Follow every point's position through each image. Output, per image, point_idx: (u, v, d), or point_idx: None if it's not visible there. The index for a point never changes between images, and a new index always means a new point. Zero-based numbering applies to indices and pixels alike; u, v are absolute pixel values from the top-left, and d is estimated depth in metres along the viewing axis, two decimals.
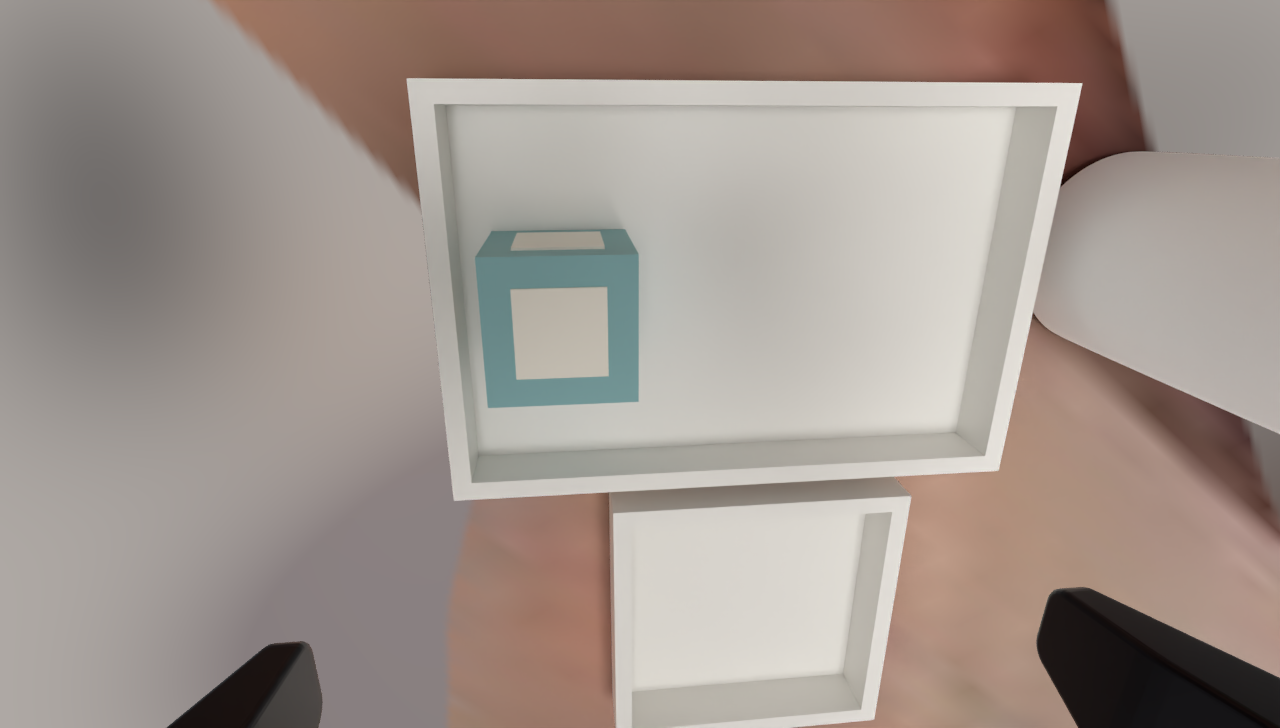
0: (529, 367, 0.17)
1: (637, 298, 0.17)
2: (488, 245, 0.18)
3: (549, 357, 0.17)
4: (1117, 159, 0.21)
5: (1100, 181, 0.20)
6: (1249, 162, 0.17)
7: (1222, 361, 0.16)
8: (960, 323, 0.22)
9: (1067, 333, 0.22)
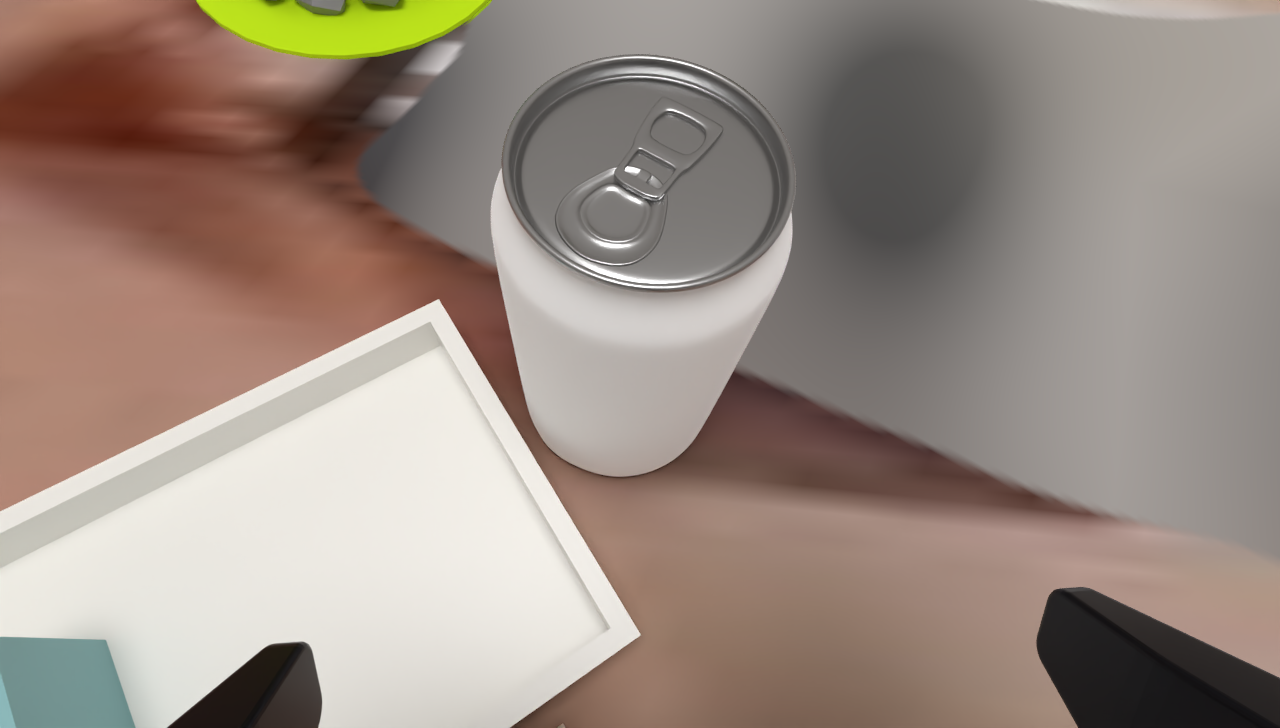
0: None
1: (0, 683, 0.15)
2: None
3: None
4: None
5: None
6: None
7: (552, 373, 0.15)
8: (523, 522, 0.21)
9: (603, 464, 0.20)
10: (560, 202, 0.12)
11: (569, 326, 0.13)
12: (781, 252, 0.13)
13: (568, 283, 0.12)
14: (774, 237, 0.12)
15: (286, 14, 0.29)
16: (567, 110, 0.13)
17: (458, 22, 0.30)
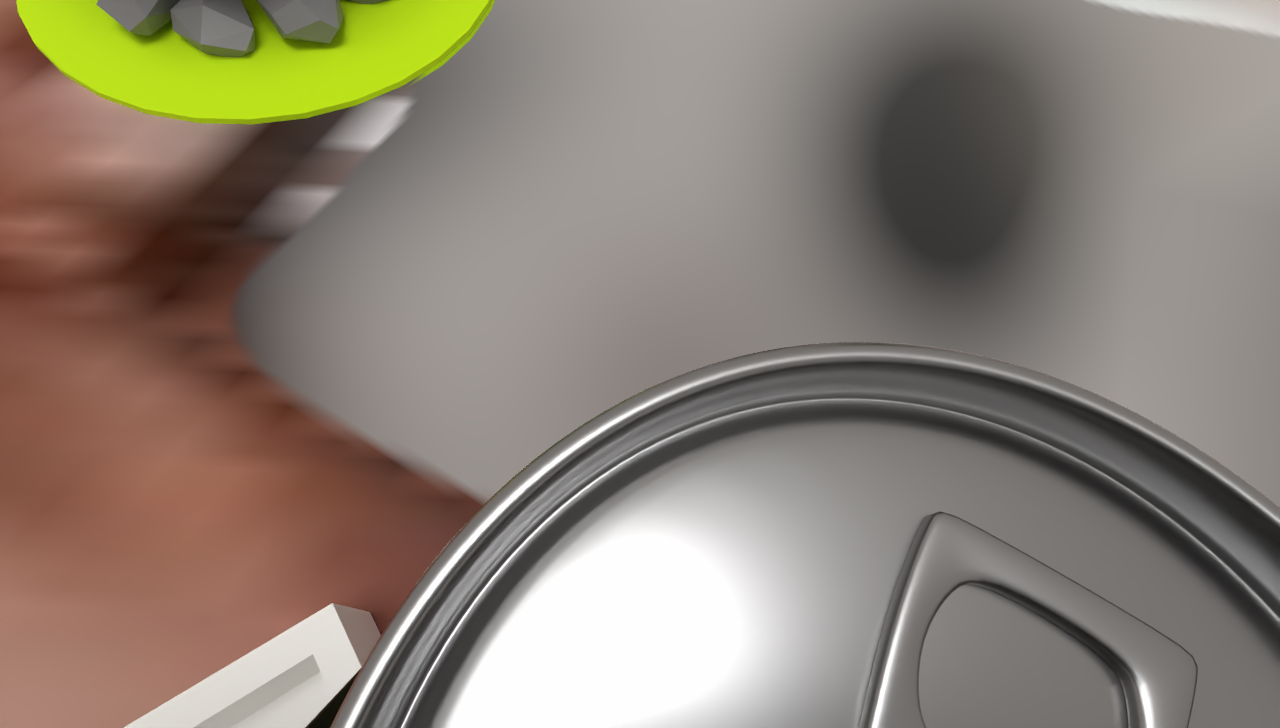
0: None
1: None
2: None
3: None
4: None
5: None
6: None
7: None
8: None
9: None
10: None
11: None
12: None
13: None
14: None
15: (165, 56, 0.19)
16: (575, 595, 0.03)
17: (424, 66, 0.20)
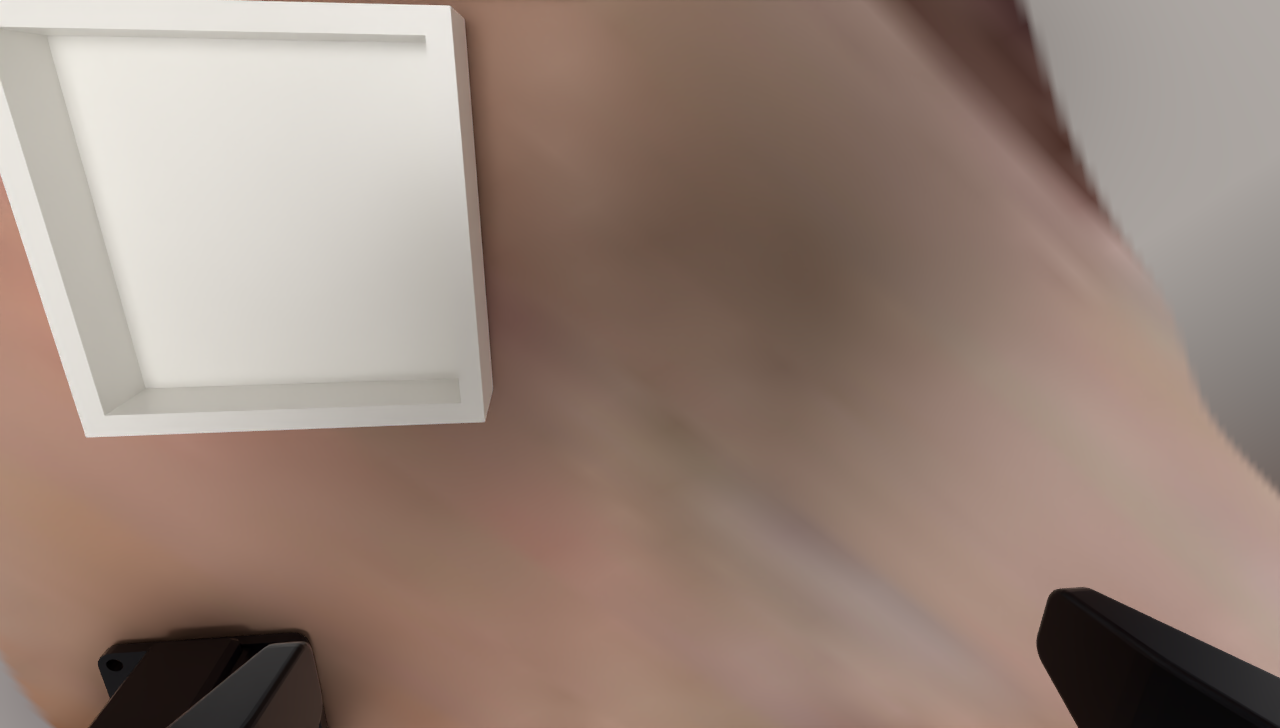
0: None
1: None
2: None
3: None
4: None
5: None
6: None
7: None
8: None
9: None
10: None
11: None
12: None
13: None
14: None
15: None
16: None
17: None
